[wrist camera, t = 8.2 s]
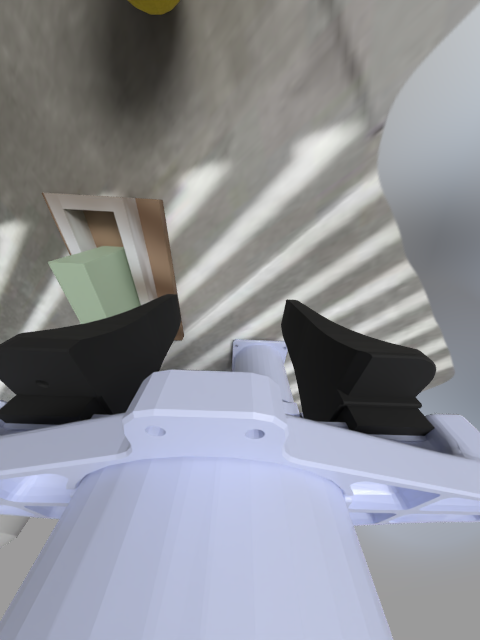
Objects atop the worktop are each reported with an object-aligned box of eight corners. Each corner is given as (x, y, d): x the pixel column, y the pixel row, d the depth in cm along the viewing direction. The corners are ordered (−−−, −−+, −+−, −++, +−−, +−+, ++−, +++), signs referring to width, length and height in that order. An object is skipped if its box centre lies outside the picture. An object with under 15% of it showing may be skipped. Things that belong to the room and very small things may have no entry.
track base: (184, 336, 25) (177, 350, 22) (112, 332, 25) (98, 347, 22) (162, 199, 16) (147, 198, 14) (51, 193, 16) (16, 191, 14)
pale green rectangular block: (147, 315, 22) (119, 347, 17) (127, 314, 22) (93, 346, 17) (128, 247, 18) (83, 263, 13) (103, 245, 18) (47, 262, 12)
